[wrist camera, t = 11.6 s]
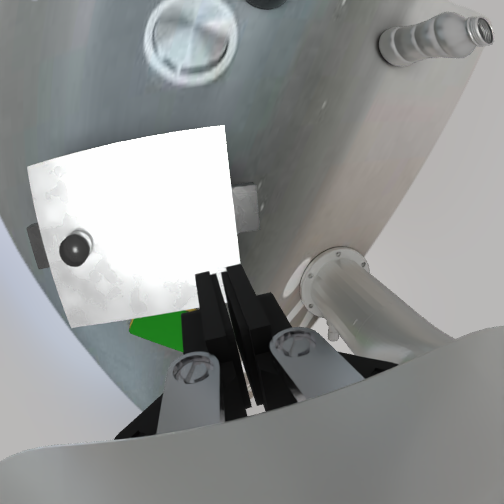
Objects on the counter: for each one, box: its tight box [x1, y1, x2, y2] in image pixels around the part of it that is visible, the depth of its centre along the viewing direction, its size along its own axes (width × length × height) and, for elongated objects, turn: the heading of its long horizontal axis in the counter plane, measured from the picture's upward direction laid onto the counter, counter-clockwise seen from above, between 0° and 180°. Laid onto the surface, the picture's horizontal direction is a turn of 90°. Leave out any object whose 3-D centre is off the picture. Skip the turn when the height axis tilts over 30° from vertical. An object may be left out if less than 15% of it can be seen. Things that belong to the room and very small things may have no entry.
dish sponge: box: [129, 309, 196, 352], centre depth 48 cm, size 7×14×2 cm, turn 60°
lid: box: [27, 126, 240, 328], centre depth 29 cm, size 18×20×3 cm
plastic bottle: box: [379, 12, 494, 66], centre depth 31 cm, size 6×7×20 cm
